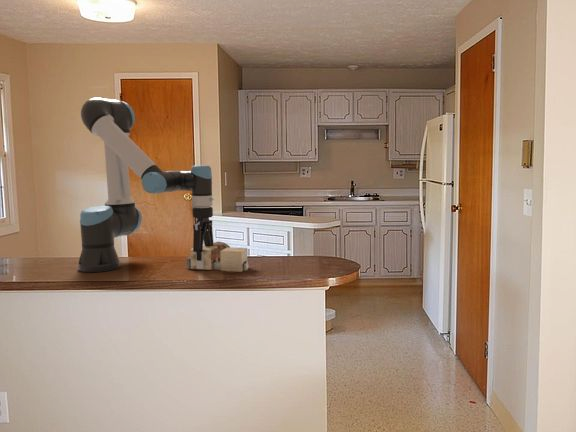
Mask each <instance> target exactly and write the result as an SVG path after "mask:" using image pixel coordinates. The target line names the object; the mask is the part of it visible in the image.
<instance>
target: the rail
mask: <svg viewBox="0 0 576 432" xmlns="http://www.w3.org/2000/svg"><path fill="white" fill-rule="evenodd" d="M212 268H213V269H212V270H220V271H221V272H234V273H235V272H238V273H242V272H246V271H248V270H249V262H248V248H247V247H230V248H228V247H227V248H225V249H223V250H222V251H220V259H219V260H218V261H212ZM186 269H187V270H191V258H190V256H189V257H187V258H186Z"/></svg>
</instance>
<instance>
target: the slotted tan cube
mask: <svg viewBox="0 0 576 432" xmlns="http://www.w3.org/2000/svg"><path fill="white" fill-rule="evenodd" d="M189 252H190V254H189V255H190V256H189V257H190V258H191V268H190V270H197V269H196V252H193V247H192V248H190V249H189ZM202 252H204V269H203V270H211V271H212V270H214V269H213V268H212V261H219V259H218V248H217V246H205V245H203V250H202Z"/></svg>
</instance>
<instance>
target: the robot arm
mask: <svg viewBox="0 0 576 432" xmlns="http://www.w3.org/2000/svg"><path fill="white" fill-rule="evenodd" d="M135 116H136V115H135V111H134V110H133V108H132V107H131V106H130V104H129V103H127V102H126V101H123V100H119V99H111V98H102V97H92V98H89V99H87V101H85V102H84V103H83V105H82V107H81V109H80V117H81V120H82V123H83V125H84V126H85V127H86V129H87V130H88V131H89V132H90V133H91V134H92V135H93V136H94V137H98V138H100V140H102V141H103V144H104V157H105V160H104V161H105V174H106V185H107V186H106V187H107V188H106V189H107V200H106V201H105V203H104V205H98V206H97V205H96V206H90V207H87V208H84V209H82V210H81V212H80V215H79V217H80V219H79V224H80V237H81V253H80V255H79V258H78V259H79V260H78V263H77V270H78V271H80V272H84V273H100V272H102V273H103V272H107V271H108V272H109V271H114V270H117V269H119V268H120V267H121V262H120V258H119V256H118V253H117V251H116V247H115V238H118V237H123V236H126V237H127V236H129V235H130V234H134V233H135V232H137V231H138V229H140V227H141V224H142V220H143V219H142V218H143V217H142V213H141V211H140V210H139V208H138V207H137V206H136V201H135V200H133V199H132V197H131V186H130V184H131V183H130V173H129V172H130V171H129V169H131V170H132V171H133V173H134V174H136V176H137V177H138V178H139V179H141V185H142V189H143V190H144V191H145V192H146V193H147V194H162V193H171V192H178V191H179V192H181V191H183V192H184V191H185V192H186V191H187V192H189V191H190V192H191V205H192V209H191V210H192V217H193V218H195V219H196V223H194V224H193V225H192V229H193V237H192V240H193V241H192V242H193V243H192V245H193V247H192V248H193V252H196V269H195V270H204V252H202V250H203V246H214V245H213V243H214V236H213V235H214V234H213V233H214V231H213V220H212V219H210V218H213V216H214V207H212V206H213V201H214V198H213V173H212V167H211V166H210V165H192V166H191V167H190V170H167V171H164V170H162V169H161V168H160V167H159V166H158V165H157V164H156V163H155V162H154V161H153V160H152V159H151V157H149V156H148V155H147V154H146V153H145V152H144V151H143V150H142V149H141V148H140V147H139V146H138V145H137V144H136V143H135V142H134V141H133V140H132V139H131V138H130V135H131V128H132V127H133V126H134V124H135V121H136V120H135V119H136V117H135Z"/></svg>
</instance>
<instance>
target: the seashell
mask: <svg viewBox="0 0 576 432" xmlns="http://www.w3.org/2000/svg"><path fill="white" fill-rule="evenodd" d="M213 245H214V246H217V248H218V260H220V251H222V250H223V249H225V248H227V247H228V248H231V247H230V245H229V244H227V243H225V242H223V241H216V242H215V241H213Z"/></svg>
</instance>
